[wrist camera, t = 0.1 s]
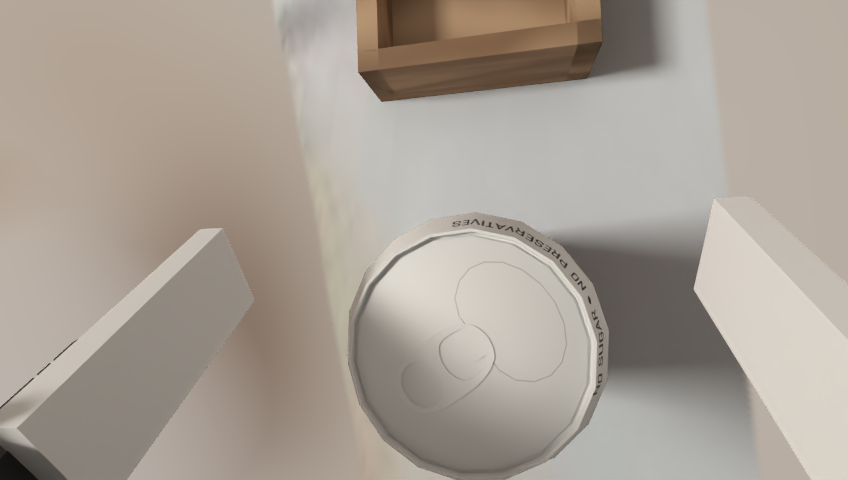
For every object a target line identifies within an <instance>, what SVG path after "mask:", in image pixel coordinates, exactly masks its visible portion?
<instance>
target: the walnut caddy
mask: <svg viewBox="0 0 848 480" xmlns="http://www.w3.org/2000/svg"><path fill="white" fill-rule="evenodd" d="M356 9H357V44H358V72H359V74H360V75H361V76H362V78H363V79H364V80H365V81H366V83H367V84H368V85H369V86H370V88H371V89H372V90H373V92H374V93H375V94H376V95H377V97H378V98H379V99H380V100H381V101H390V100H398V99H407V98H416V97H425V96H434V95H443V94H452V93H461V92H469V91H478V90H487V89H496V88H505V87H514V86H523V85H532V84H540V83H549V82H558V81H567V80H576V79H585V78H587V77H588V75H589V73H590V70H591V68H592V65H593V63H594V61H595V58H596V56H597V54H598V51H599V49H600V47H601V44H602V42H603V37H602V21H601V5H600V0H356Z"/></svg>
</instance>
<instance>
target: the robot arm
mask: <svg viewBox="0 0 848 480" xmlns="http://www.w3.org/2000/svg"><path fill="white" fill-rule="evenodd" d="M694 291H695V292H696V294H697V296H698V297H699V299H700V301H701V302H702V304H703V305H704V307H705V309H706V310H707V312H708V314H709V315H710V317H711V318H712V320H713V322H714V323H715V325H716V327H717V328H718V330H719V331H720V333H721V335H722V336H723V338H724V339H725V341H726V343H727V344H728V346H729V348H730V349H731V351H732V352H733V354H734V356H735V357H736V359H737V361H738V362H739V364H740V365H741V367H742V369H743V370H744V372H745V374H746V375H747V377H748V378H749V380H750V382H751V383H752V385H753V387H754V388H755V390H756V391H757V393H758V395H759V396H760V398H761V400H762V401H763V403H764V404H765V406H766V407H767V409H768V411H769V412H770V414H771V416H772V417H773V419H774V421H775V422H776V424H777V425H778V427H779V429H780V430H781V432H782V434H783V435H784V437H785V438H786V440H787V442H788V443H789V445H790V447H791V448H792V450H793V451H794V453H795V455H796V456H797V458H798V460H799V461H800V463H801V464H802V466H803V468H804V469H805V471H806V473H807V474H808V476H809V477H810V479H811V480H848V284H847V283H846V282H845V281H844V280H843V279H841V278H840V277H839V276H838V275H837V274H836V273H835V272H834V271H832V269H830V268H829V267H828V266H827V265H826V264H825V263H824V262H823V261H822V260H820V259H819V258H818V257H817V256H816V255H815V254H814V253H813V252H811V251H810V250H809V249H808V248H807V247H806V246H805V245H804V244H803V243H802V242H800V241H799V240H798V239H797V238H796V237H795V236H794V235H793V234H792V233H790V232H789V231H788V230H787V229H786V228H785V227H784V226H783V225H782V224H780V223H779V222H778V221H777V220H776V219H775V218H774V217H773V216H772V215H770V214H769V213H768V212H767V211H766V210H765V209H764V208H763V207H762V206H760V205H759V204H758V203H757V202H756V201H755V200H754V199H753V198H752V197H750V196H744V197H727V198H714V201H713V205H712V210H711V214H710V219H709V223H708V227H707V232H706V236H705V241H704V245H703V250H702V254H701V259H700V263H699V267H698V272H697V276H696V281H695V285H694ZM254 301H255V300H254V297H253V295H252V293H251V290H250V288H249V286H248V284H247V281H246V279H245V277H244V274H243V272H242V270H241V268H240V265H239V263H238V261H237V259H236V257H235V254H234V252H233V249H232V247H231V245H230V243H229V240H228V238H227V236H226V233H225V232H224V229H223V228H214V229H200V230H199V231H198V232H197V233H196V234H194V235H193V236H192V237H191V238H190V239H189V240H188V241H187V242H186V243H184V244H183V245H182V246H181V247H180V248H179V249H178V250H177V251H176V252H175V253H173V254H172V255H171V256H170V257H169V258H168V259H167V260H166V261H165V262H163V263H162V264H161V265H160V266H159V267H158V268H157V269H156V270H155V271H153V272H152V273H151V274H150V275H149V276H148V277H147V278H146V279H144V281H142V282H141V283H140V284H139V285H138V286H137V287H136V288H135V289H133V290H132V291H131V292H130V293H129V294H128V295H127V296H126V297H125V298H123V299H122V300H121V301H120V302H119V303H118V304H117V305H116V306H114V307H113V308H112V309H111V310H110V311H109V312H108V313H107V314H106V315H104V316H103V317H102V318H101V319H100V320H99V321H98V322H97V323H96V324H94V325H93V326H92V327H91V328H90V329H89V330H88V331H87V332H86V333H84V334H83V335H82V336H81V337H80V338H79V339H77V340H76V341H74V342H73V343H71V344H70V345H69V346H68V347H67V348H66V349H65V350H64V351H63V352H61V353H60V354H59V355H58V356H57V357H56V358H55V359H54V361H53V362H52V363H49V364H48V365H47V366H46V367H45V368H44V369H42V370H41V371H40V372H39V373H38V374H37V377H35V378H32V379H31V380H30V381H29V382H28V383H27V384H26V385H25V386H24V387H22V388H21V389H20V390H19V391H18V392H17V393H16V394H15V395H14V396H12V397H11V398H10V399H9V400H8V401H7V402H6V403H4V404H3V405H2V406H1V407H0V480H127V479H128V477H129V476H130V474H131V473H132V472H133V470H134V469H135V467H136V466H137V465H138V463H139V462H140V460H141V459H142V457H143V456H144V455H145V453H146V452H147V451H148V449H149V448H150V446H151V445H152V444H153V442H154V441H155V439H156V438H157V437H158V435H159V434H160V432H161V431H162V429H163V428H164V427H165V425H166V424H167V423H168V421H169V420H170V418H171V417H172V416H173V414H174V413H175V411H176V410H177V409H178V407H179V406H180V404H181V403H182V401H183V400H184V399H185V397H186V396H187V395H188V393H189V391H190V390H191V389H192V388H193V386H194V385H195V383H196V382H197V380H198V379H199V378H200V376H201V375H202V374H203V372H204V371H205V369H206V368H207V366H208V365H209V364H210V362H211V361H212V360H213V358H214V357H215V355H216V354H217V353H218V351H219V350H220V348H221V347H222V345H223V344H224V343H225V341H226V340H227V338H228V337H229V336H230V334H231V333H232V331H233V330H234V329H235V327H236V326H237V325H238V323H239V322H240V320H241V319H242V317H243V316H244V314H245V313H246V312H247V310H248V309H249V308H250V306H251V305H252V303H253V302H254Z"/></svg>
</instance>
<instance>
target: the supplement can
mask: <svg viewBox="0 0 848 480" xmlns="http://www.w3.org/2000/svg"><path fill="white" fill-rule="evenodd" d="M608 346H609V329H608V326H607V324H606V321H605V318H604V315H603V312H602V309H601V306H600V303H599V300H598V297H597V294H596V292H595V289H594V286H593V284H592V282H591V281H590V280H589V279H588V277H587V276H586V275H585V274H584V272H583V271H582V270H581V269H580V268H579V266H578V265H577V264H576V263H575V261H574V260H573V259H572V258H571V256H570V255H569V254H568V253H567V252H566V250H565V249H564V248H563V247H562V246H561V245H559V244H558V243H556V242H554V241H553V240H551V239H549V238H548V237H546V236H544V235H543V234H541V233H539V232H538V231H536V230H534V229H533V228H531V227H530V226H528V225H526V224H525V223H523V222H521V221H516V220H511V219H506V218H501V217H496V216H491V215H486V214H481V213H477V212H476V213H470V214H463V215H456V216H449V217H442V218H435V219H431V220H430V221H428V222H426V223H424V224H422V225H420V226H418V227H416V228H415V229H413V230H411V231H409V232H407V233H405V234H403V235H402V236H400V237H398V238H396V239H394V240H393V241H392V243H391V244H390V245H389V246H388V247H387V248H386V249H385V250H384V251H383V253H382V254H381V255H380V256H379V257H378V258H377V259H376V260H375V262H374V263H373V264H372V265H371V266H370V267H369V268H368V269H367V270H366V272H365V274H364V277H363V279H362V282H361V284H360V286H359V289H358V291H357V294H356V296H355V299H354V301H353V304H352V306H351V308H350V311H349V327H348V345H347V356H348V365H349V368H350V372H351V376H352V379H353V383H354V387H355V390H356V394H357V398H358V401H359V405H360V406H361V408H362V409H363V411H364V412H365V413H366V415H367V416H368V418H369V419H370V421H371V422H372V424H373V425H374V427H375V428H376V430H377V431H378V433H379V434H380V436H381V437H382V439H383V440H384V441H385V442H386V443H388V444H389V445H390V446H391V447H393V448H394V449H395V450H397V451H398V452H399V453H401V454H402V455H403V456H404V457H406V458H407V459H408V460H410V461H411V462H412V463H414V464H415V465H416V466H417V467H419V468H422V469H425V470H428V471H431V472H434V473H437V474H440V475H443V476H447V477H450V478H453V479H456V480H505V479H507V478H510V477H512V476H514V475H517V474H519V473H521V472H524V471H526V470H528V469H531V468H533V467H535V466H538V465H540V464H543V463H545V462H546V461H548V460H550V459H552V458H555V457H556V456H557V455H558V454H559V453H560V452H561V451H562V450H563V449H564V448H565V447H566V446H567V445H568V444H569V443H570V442H571V441H572V440H573V439H574V438H575V437H576V436H577V435H578V434H579V433H580V432H581V431H582V430H583V429H584V428H585V427H586V426H587V425H588V424H589V422H590V419H591V417H592V415H593V412H594V410H595V408H596V405H597V403H598V401H599V398H600V396H601V394H602V391H603V389H604V387H605V384H606V382H607V379H608Z"/></svg>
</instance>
